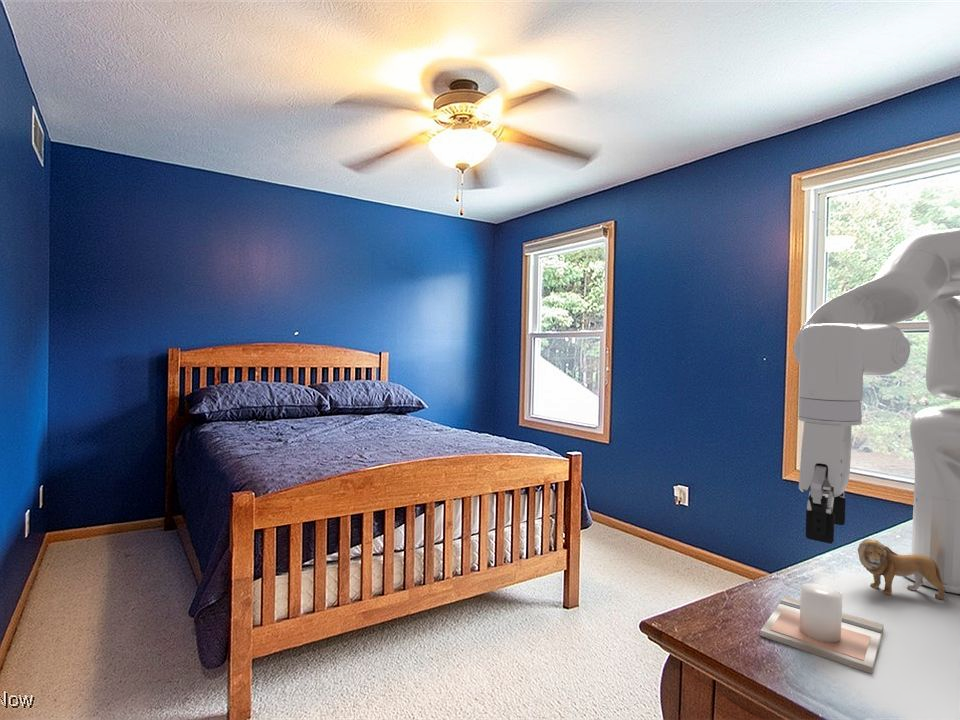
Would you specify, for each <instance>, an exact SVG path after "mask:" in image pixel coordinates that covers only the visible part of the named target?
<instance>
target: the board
mask: <svg viewBox="0 0 960 720" xmlns="http://www.w3.org/2000/svg"><path fill="white" fill-rule="evenodd" d="M799 624H800V599H797V598H793V597H790V596H786V595H784V597H783V598H782V599H781V600H780V602H779V604H778V605H777V607H776V608H775V609H774V611H773V612H772V613H771V615H770V616H769V618H767V620H766V622H765V623H764V624H763V626H762V628H761V629H760V630H759V631H760V633H759V634H760V636H761V637H763V638H766V639H769V640H772V641H775V642H778V643H780V644H784V645H786V646H790V647H793V648H795V649H799V650H802V651H805V652H807V653H810V654H813V655H817V656H819V657H822V658H825V659H828V660H831V661H834V662H836V663H840V664H842V665H846V666H848V667H851V668H854V669H857V670H861V671H863V672H866V673H869V674H873V671H874V667H875V663H876V660H877V655H878V652H879V648H880V644H881V640H882V636H883V633H884V626H885V625H884V623H880V622H876V621H874V620H869V619H866V618H863V617H859V616H856V615H853V614H849V613H845V612H843V611H842V623H841V640H840V641H838V642H823V641H819V640H816V639H813V638H811V637H809V636H807V635H805V634H804V633H802V632H801V631H800V629H799Z"/></svg>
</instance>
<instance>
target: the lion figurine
mask: <svg viewBox="0 0 960 720" xmlns="http://www.w3.org/2000/svg"><path fill="white" fill-rule="evenodd" d="M857 552H858V557H859V561H860V564H861V565H862V566H863V567H864V568H865V569H866V571H868V572H869V573H870V574H871V575H872V576H873V582H872V583H870V587H871V588H873V589H879V587H880V585H882V582H881V576H883V578H884V589H882V591H881V592H882V594H884V595H887V596H891V595H892V593H893V588H892V587H893V586H892V585H893V580H894V578H895V576H896V577H906V576H909V575H912V574H914V577H915V581H914V583H913V584H911V585H910V584H908V585H907V586H906V588H907V589H908V590H910V591H917V590H918V589H919V588H920V587H921V586H923V585H922V584H923V577H924V578H925V579H926V580H927V581H928V582H929V583H931V584H932V585H933V586H935V587H936V588H937V589H936V590H938V593H937V592H936V593H934V597H935V598H936V599H938V600H944V599H945V597H946V595H945V594H946V590H945V589H944V586H943V584H942V578H941V573H940V570H939V567H938V565H937V564H936V562H935V561H934V560H932V559H931V558H929V557H927V556H924V555H919V554H913V555H911V554H899V553H897V552H895V551H893V550H891V549H890V547H888V546H886V545H884V544H882V543H881V542H880V541H879V540H876V539H871V538H867V539H863V540H862V541H861V542H860V543H859V545H858V548H857Z"/></svg>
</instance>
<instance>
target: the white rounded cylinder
mask: <svg viewBox="0 0 960 720" xmlns="http://www.w3.org/2000/svg"><path fill="white" fill-rule="evenodd" d="M799 597H800V598H799V600H800V624H799V629H800V631H801V632H802V633H804V634H805V635H807V636H809V637H811V638H813V639H816V640H819V641H823V642H838V641H840V640H841V623H842V612H843V594H842V593H841V591H839V590H837V589H835V588H834V587H832V586H828V585H825V584H821V583H811V582H810V583H809V582H807V583H803V584H801V586H800V596H799Z"/></svg>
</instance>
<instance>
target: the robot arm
mask: <svg viewBox="0 0 960 720" xmlns="http://www.w3.org/2000/svg"><path fill="white" fill-rule="evenodd" d="M924 312H925V315H926V317H927V320H928V326H929V327H928V328H929V330H928V341H927V354H926V365H925V368H926V369H925V384H926V385H925V386H926V389H927V391H928V392H929V393H930V394H931V395H932V396H935V397H936V398H940V399H945V400H953V401H960V227H959V228H950V229H945V230H943V229H942V230H937V231H935V230H934V231H929V232H925V233H924V232H923V233H920V234H915V235H914V236H913V235H912V236H910V237H909V238H907V239H905V240H903V241H902V242H901V243H900V245H898V247H897V248H896V249H895V251H894V252H893V253H892V254H891V256H889V258H888V259H887V260H886V262H885V263H884V265H882V266H881V269H880V270H879V271H878V272H877V273H876V275H875V276H874V277H873V279H872V280H870V281H869V280H868V281H866V282H864V283H862V284H860V285H858V286H855V287H853V288H851V289H849V290H847V291H845V292H844V293H841V294H839V295H837V296H835V297H833V298H831V299H829V300H827V301H826V302H825V303H823V304H822V305H820V306H819V307H817V309H816V310H814V311H813V312H812V314H811V315H810V316H809V317H808V319H807V320H806V321H804V323H803V324H802V327H801V328H800V329H799V331H798V332H797V335H796V338H795V340H794V345H793V354H794V358H795V359H794V360H796V363H798V364H799V377H798V379H799V382H798V383H799V384H798V385H799V386H798V388H799V389H798V421H801V422H804V425H803V432H802V440H801V451H800V463H799V478H798V489H799V490H800V492H802V493H805V492H807V491H808V490H809V493H808V498H807V504H806V511H805V538H806V539H807V540H811V541H817V542H820V543H824V544H825V543H826V544H833V543H834V541H835V525H836V526H837V525H839V526H844V525H845V524H846V502H847V501H846V497H845V495H846V489H847V487H848V486H849V481H850V473H851V472H850V471H851V458H852V426H861V425H863V395H864V394H863V389H864V376H886V375H891V374H893V373H896V372H898V371H899V370H900V369H902V368H904V366H905V365H906V363H907V361H908V359H909V358H910V355H911V343H910V340H909V337H908V336H907V334H906V333H905V332H904V331H903V330H901V329H900V328H899V327H897V326H895V325H894V324H896V323H901V322H904V321H907V320H911V319H913V318H915V317H918V316H919V315H921V314H923V313H924ZM909 433H910V440H911V446H912V452H913V461H914V487H913V488H914V489H913V491H914V492H913V510H912V530H911V553H910V555H913V554H919V555H924V556H927V557H929V558H931V559H932V560H934V561H935V562H936V564H937V565H938V567H939V570H940V573H941V578H942V584H943V586H944V589H945V590H946V592H947V593H952V594H958V595H960V407H954V406H953V407H951V406H933V407H927V408H923V409H921V410H919V411H917V412H916V414H914V415H913V417H912V419H911V421H910V427H909ZM905 578H907V579H909V580H911V581H913V582H915V577H914V574H912V575H909V576H905ZM921 586H926V587H928V588H931V589H936V590H938V589H937V588H936V587H935V586H933V585H932V584H931V583H929V582H928V581H927V580H926V579H925V578H924V577H923V584H922V585H921ZM946 592H945V593H946Z"/></svg>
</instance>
